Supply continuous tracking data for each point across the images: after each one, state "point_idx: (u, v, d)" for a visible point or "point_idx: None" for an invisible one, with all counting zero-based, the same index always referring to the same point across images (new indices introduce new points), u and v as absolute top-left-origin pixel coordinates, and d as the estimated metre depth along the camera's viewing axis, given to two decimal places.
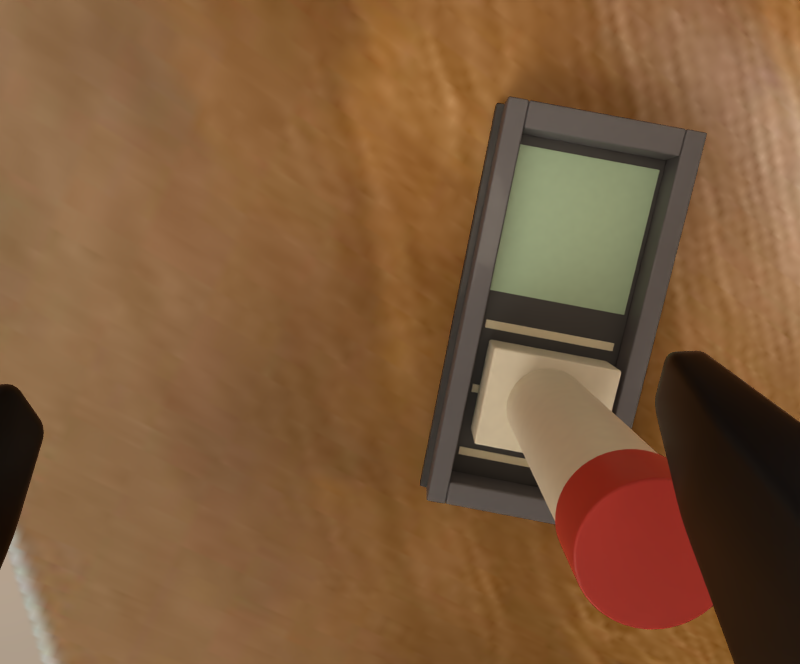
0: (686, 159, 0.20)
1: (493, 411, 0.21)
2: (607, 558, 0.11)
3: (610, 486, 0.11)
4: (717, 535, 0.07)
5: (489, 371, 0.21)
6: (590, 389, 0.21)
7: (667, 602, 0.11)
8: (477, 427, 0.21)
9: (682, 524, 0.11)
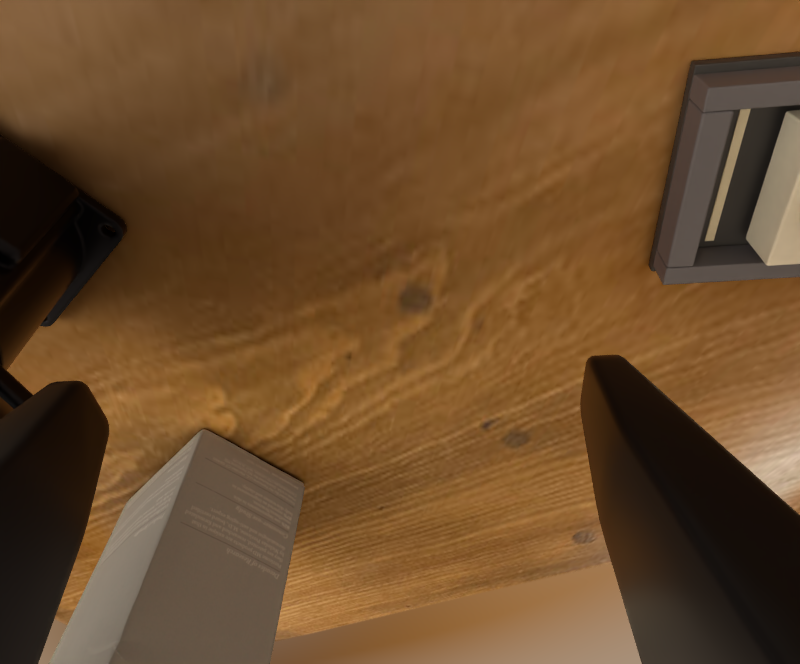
0: None
1: None
2: None
3: None
4: (624, 537, 0.07)
5: None
6: None
7: None
8: None
9: None
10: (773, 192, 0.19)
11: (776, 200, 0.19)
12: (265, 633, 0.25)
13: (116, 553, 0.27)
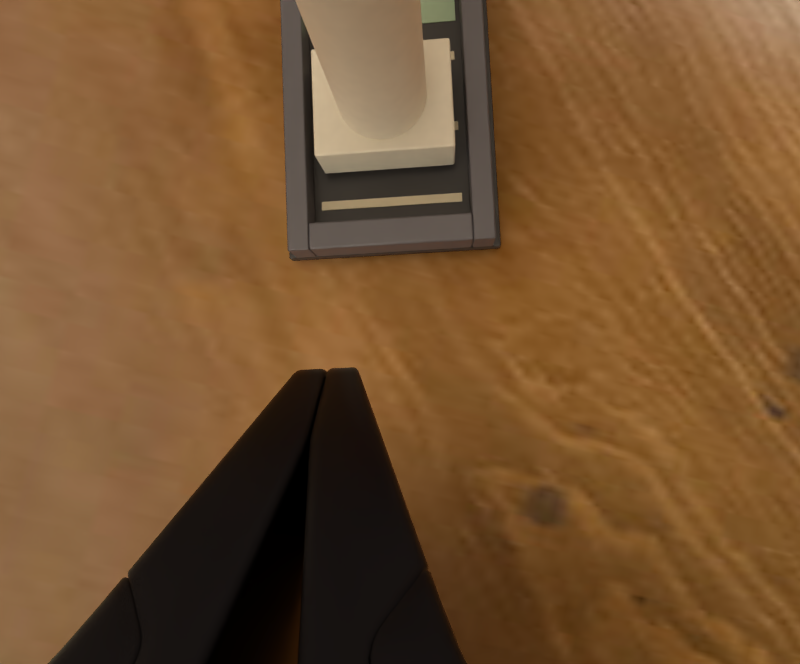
0: None
1: (325, 115, 0.19)
2: None
3: None
4: None
5: (312, 76, 0.19)
6: None
7: None
8: (314, 139, 0.19)
9: None
10: (389, 161, 0.20)
11: (391, 158, 0.19)
12: None
13: None
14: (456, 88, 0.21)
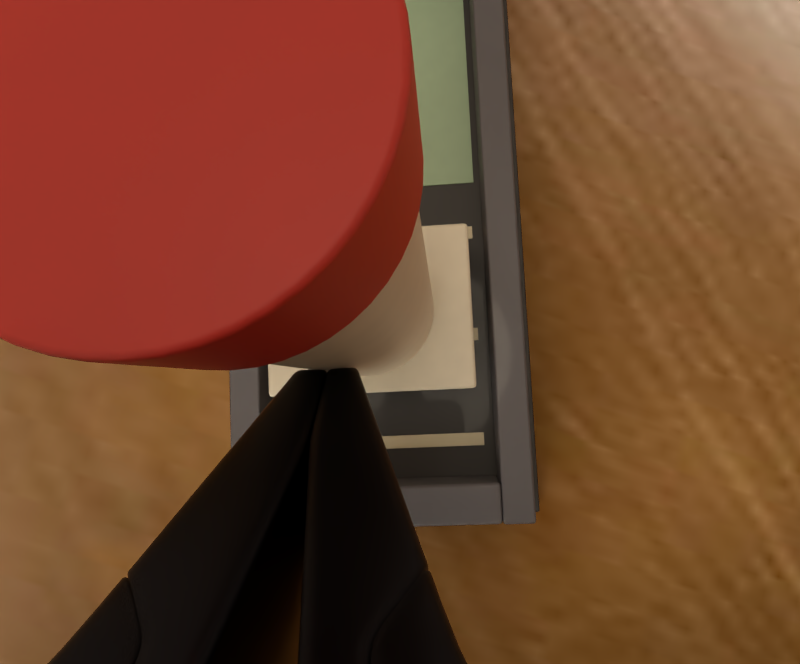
0: None
1: None
2: None
3: None
4: None
5: None
6: (426, 262, 0.13)
7: (204, 224, 0.03)
8: (269, 369, 0.13)
9: None
10: None
11: None
12: None
13: None
14: (475, 279, 0.15)
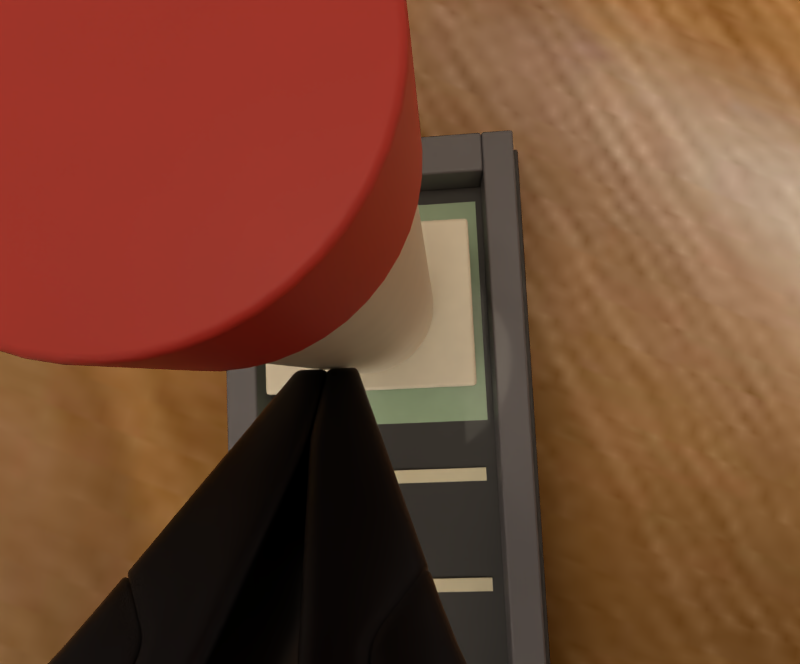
0: (493, 172, 0.14)
1: None
2: None
3: None
4: None
5: None
6: None
7: (187, 217, 0.03)
8: (266, 367, 0.13)
9: None
10: None
11: None
12: None
13: None
14: (489, 525, 0.14)
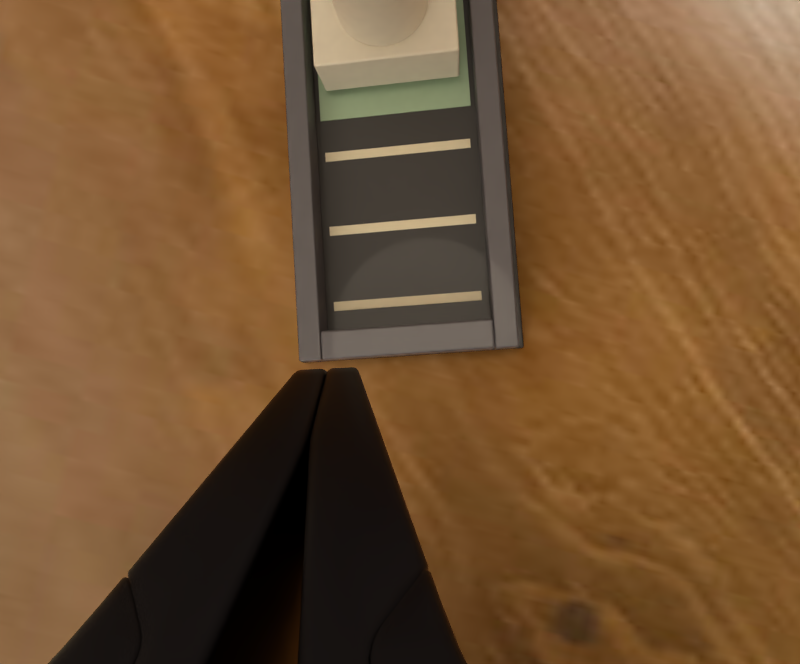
0: None
1: (324, 23, 0.18)
2: None
3: None
4: None
5: None
6: None
7: None
8: (313, 49, 0.19)
9: None
10: (391, 73, 0.19)
11: (394, 68, 0.19)
12: None
13: None
14: (473, 178, 0.20)
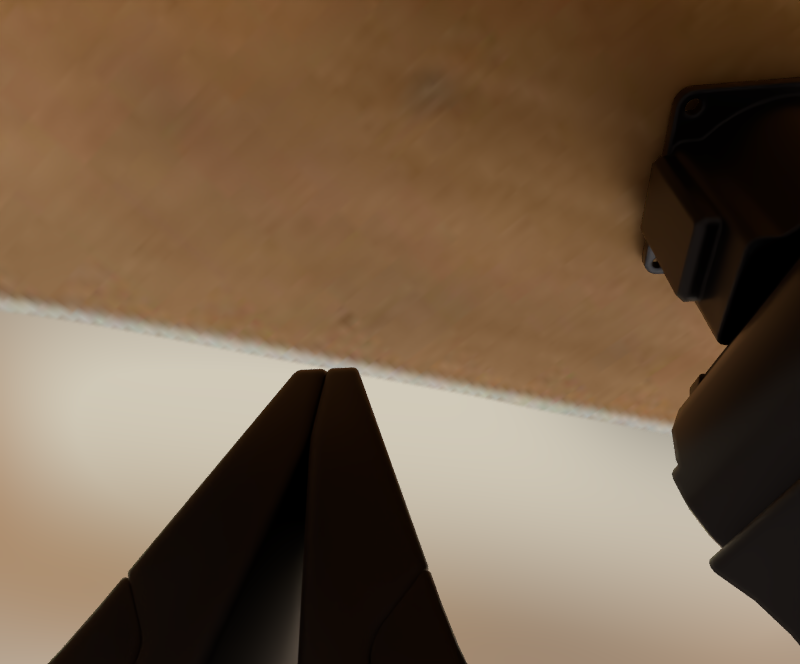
0: None
1: None
2: None
3: None
4: None
5: None
6: None
7: None
8: None
9: None
10: None
11: None
12: None
13: None
14: None
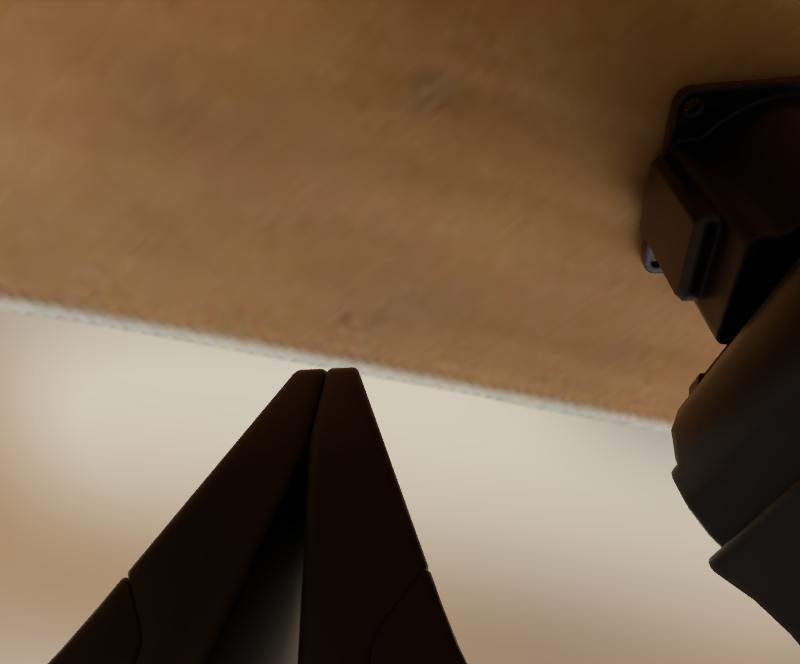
0: None
1: None
2: None
3: None
4: None
5: None
6: None
7: None
8: None
9: None
10: None
11: None
12: None
13: None
14: None
